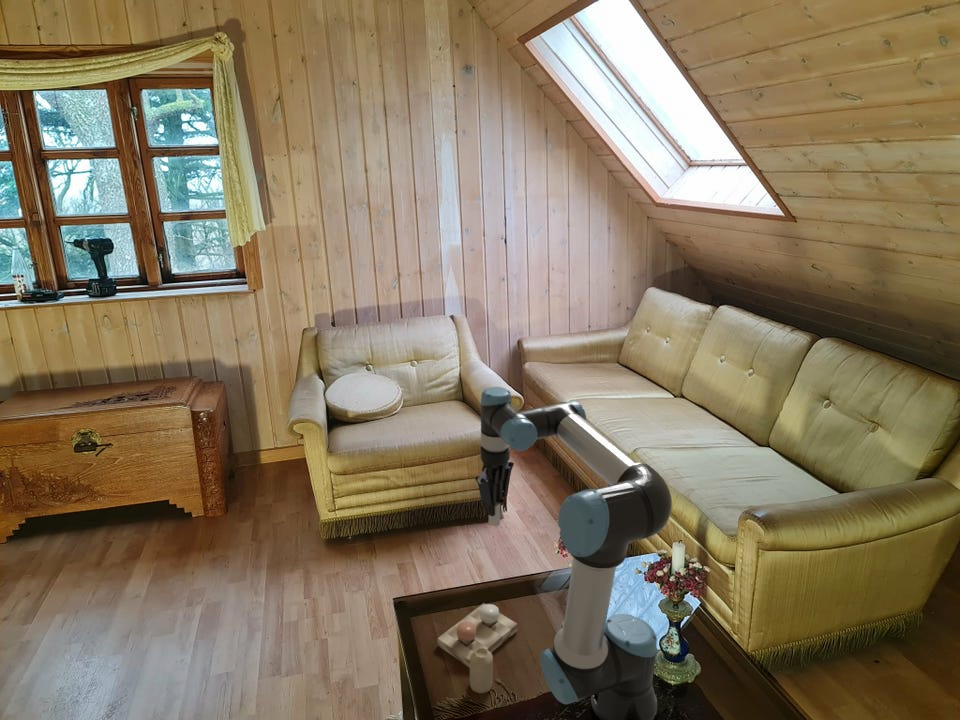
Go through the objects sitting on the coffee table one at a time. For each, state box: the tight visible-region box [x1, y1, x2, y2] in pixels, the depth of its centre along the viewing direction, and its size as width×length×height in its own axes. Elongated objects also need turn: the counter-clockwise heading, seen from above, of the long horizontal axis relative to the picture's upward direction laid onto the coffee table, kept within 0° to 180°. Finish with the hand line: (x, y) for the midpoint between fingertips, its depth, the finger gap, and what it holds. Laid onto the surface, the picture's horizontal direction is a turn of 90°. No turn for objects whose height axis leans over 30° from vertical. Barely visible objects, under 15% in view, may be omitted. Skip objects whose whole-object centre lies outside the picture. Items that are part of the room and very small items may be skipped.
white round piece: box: [480, 603, 500, 628], centre depth 190 cm, size 5×5×5 cm
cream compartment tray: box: [437, 602, 518, 669], centre depth 188 cm, size 12×18×2 cm, turn 138°
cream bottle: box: [469, 648, 494, 694], centre depth 172 cm, size 6×6×10 cm
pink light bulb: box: [457, 622, 476, 647], centre depth 184 cm, size 5×5×5 cm
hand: (494, 523), depth 191 cm, fingers closed
